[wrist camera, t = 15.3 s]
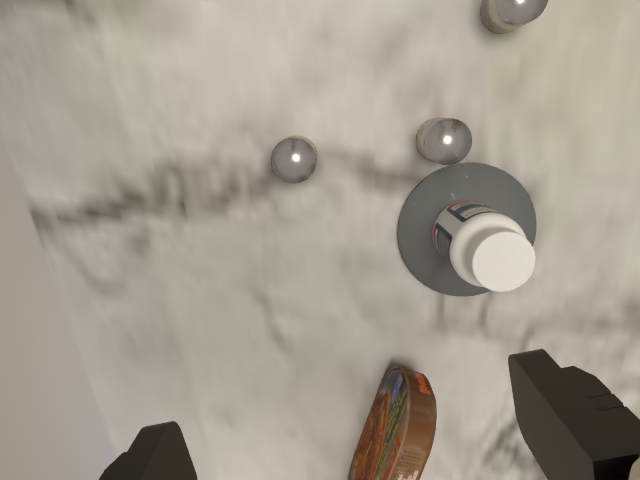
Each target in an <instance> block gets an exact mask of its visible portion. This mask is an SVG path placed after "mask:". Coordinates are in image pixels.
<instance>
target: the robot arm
mask: <svg viewBox="0 0 640 480" xmlns="http://www.w3.org/2000/svg"><path fill="white" fill-rule="evenodd" d="M508 364H509V371H510V378H511V385H512V392H513V398H514V405H515V412H516V417H517V421H518V424H519V428H520V430H521V433H522V436H523V438H524V440H525V442H526V444H527V445H528V447H529V449H530V450H531V452H532V454H533V455H534V457H535V459H536V460H537V462H538V464H539V465H540V467H541V469H542V470H543V472H544V474H545V475H546V477H547V479H548V480H640V420H639V419H638V418H637V417H636V416H635V415H634V414H633V413H632V412H631V411H630V410H629V409H628V408H627V407H624V405H623V403H622V402H621V401H620V400H619V399H618V398H617V397H616V396H615V395H614V394H611V391H610V390H609V389H608V388H607V387H606V386H605V385H604V384H603V383H602V382H601V381H600V380H599V379H598V378H597V377H596V376H594V375H592V374H589V373H587V372H585V371H583V370H581V369H579V368H577V367H575V366H571V367H565V368H560V367H559V365H558V364H557V363H556V362H555V361H554V360H553V359H552V358H551V357H550V356H549V355H548V353H547V352H546V351H545V350H543V349H538V350H533V351H528V352H523V353H518V354H513V355H509V358H508ZM99 480H197V475H196V472H195V469H194V466H193V463H192V460H191V457H190V454H189V451H188V449H187V446H186V443H185V440H184V437H183V434H182V431H181V429H180V427H179V425H178V424H177V423H176V422H175V421H172V422H167V423H161V424H156V425H151V426H146V427H143V428H142V429H141V430H140V432H139V433H138V435H137V437H136V438H135V440H134V442H133V443H132V445H131V446H130V448H129V450H128V451H127V452H124V453H122V454H121V455H120V456H119V457H118V458H117V459H116V460H115V461H114V462H113V463H112V464H110V465H109V466H108V467H107V468H106V469H105V470H104V472H103V474H102V475H101V477H100V478H99Z"/></svg>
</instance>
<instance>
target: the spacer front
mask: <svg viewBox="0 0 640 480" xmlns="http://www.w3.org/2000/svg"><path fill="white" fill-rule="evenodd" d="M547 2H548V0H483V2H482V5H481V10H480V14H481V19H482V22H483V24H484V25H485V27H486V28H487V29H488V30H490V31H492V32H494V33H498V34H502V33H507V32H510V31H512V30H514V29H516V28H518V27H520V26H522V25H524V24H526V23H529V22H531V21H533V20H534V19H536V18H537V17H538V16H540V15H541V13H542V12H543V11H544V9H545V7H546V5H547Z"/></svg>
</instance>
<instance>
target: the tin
mask: <svg viewBox="0 0 640 480" xmlns="http://www.w3.org/2000/svg"><path fill="white" fill-rule="evenodd" d="M436 418H437V412H436V400H435V396H434V393H433V391H432V388H431V385H430V383H429V381H428V379H427V378H426V376H425V375H423V374H421V373H418V372H415V371H411V370H407V369H403V368H402V367H400V366H394V367H392V368H391V369H390V370H388V372H387V373H386V375H385V376H384V378H383V380H382V382H381V384H380V387H379V389H378V392H377V395H376V397H375V400H374V403H373V406H372V408H371V411H370V414H369V417H368V419H367V422H366V425H365V428H364V430H363V433H362V435H361V438H360V441H359V444H358V446H357V449H356V452H355V455H354V458H353V462H352V466H351V471H350V476H349V480H419V479H420V477H421V474H422V472H423V469H424V467H425V464H426V462H427V459H428V457H429V454H430V451H431V448H432V444H433V440H434V435H435V429H436Z"/></svg>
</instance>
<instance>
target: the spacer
mask: <svg viewBox="0 0 640 480" xmlns="http://www.w3.org/2000/svg"><path fill="white" fill-rule="evenodd" d="M416 145H417V148H418V150H419V152H420V153H421V154H422V155H423V156H424V157H426V158H428V159H430V160H432V161H435V162H437V163H439V164H442V165H452V164H456V163H458V162H460V161H461V160H463V159H464V158H465V157H466V156H467V154H468V153H469V151H470V148H471V145H472V136H471V132H470V130H469V128H468V127H467V126H466V125H465V124H464V123H463V122H461V121H459V120H457V119H444V118H436V119H431V120H429V121H427V122H425V123H424V124H423V125H422V126H421V127H420V129H419V130H418V133H417V136H416Z"/></svg>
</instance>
